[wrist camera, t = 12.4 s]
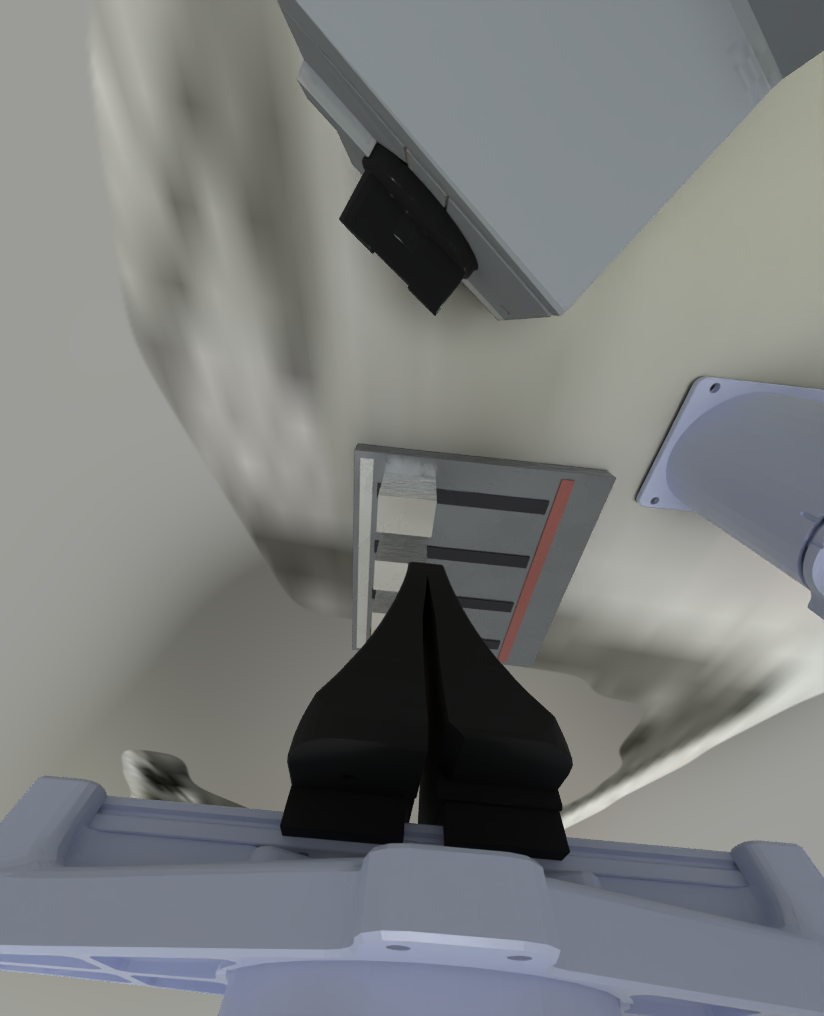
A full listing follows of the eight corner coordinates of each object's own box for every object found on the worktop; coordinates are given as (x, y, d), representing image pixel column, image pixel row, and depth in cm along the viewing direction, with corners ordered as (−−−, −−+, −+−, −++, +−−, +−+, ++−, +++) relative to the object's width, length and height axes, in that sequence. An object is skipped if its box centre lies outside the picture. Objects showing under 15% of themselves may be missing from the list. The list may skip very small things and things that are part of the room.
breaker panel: (606, 470, 21) (645, 501, 17) (527, 655, 30) (541, 701, 26) (357, 443, 21) (342, 469, 17) (354, 638, 30) (344, 682, 26)
